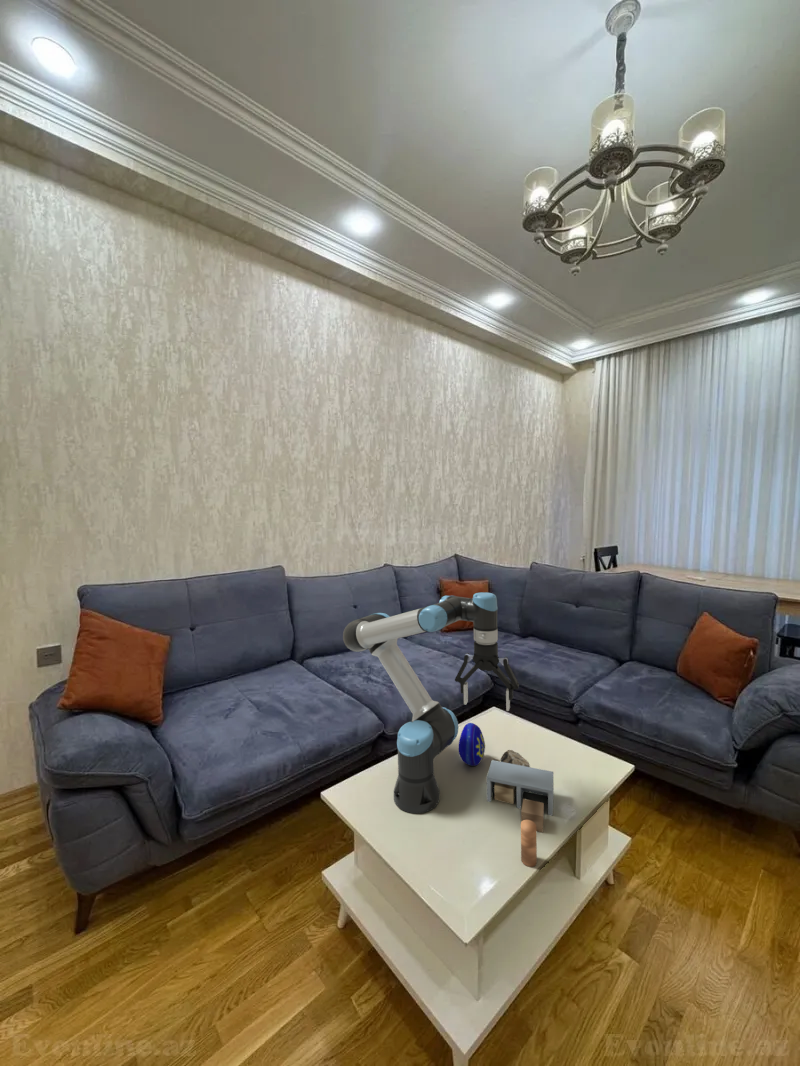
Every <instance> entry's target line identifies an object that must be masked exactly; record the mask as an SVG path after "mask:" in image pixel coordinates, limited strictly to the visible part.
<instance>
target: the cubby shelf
mask: <svg viewBox="0 0 800 1066" xmlns="http://www.w3.org/2000/svg"><path fill="white" fill-rule="evenodd" d="M495 782H498V783H502V784H507V785H512V786H516V808H517V809H520V810H522V804H523V799H524V797H523V796H524V792H526V793H530V794H535V795H539V796H544V797H547V798H548V799H547V803H548V804H547V807H548V808H547V811H548V812H547V815H548V816H551V817H552V816H553V812H554V794H555V793H554V792H555V791H554V785H555V784H554V771H551V770H546V769H542V768H535V767H531V766H530V767H526V766H521V765H515V764H510V763H505V762H501V760H500V761H498V760H493V759H492V760H491V762H490V766H489V768H488V771H487V773H486V802H490V803H491V802H492V798H493V794H494V785H495Z"/></svg>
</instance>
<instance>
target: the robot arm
mask: <svg viewBox="0 0 800 1066" xmlns="http://www.w3.org/2000/svg"><path fill="white" fill-rule="evenodd" d="M498 610H499V608H498V599H497V596H496V594H494V593H491V592H486V591H485V592H484V591H483V592H481V591H480V592H476V593H474V594H473V596H472V598H471V597H464V596H456V595H444V596H441V598H440V599H439V602H437V603H434V604H431V605H427V606H423V607H421V608H417V609H414V610H409V611H406V612H403V613H399V614H396V615H391V616H390V615H389V614H387V613H385V612H384V613H383V612H376V613H372V614H369V615H367V616H364V617H360V618H359V619H354V620H352V621H351V622H349V623H347V625H346V626H345V628H344V629H343V632H342V640H343V643H344V645H345V647H346V648H347V649H349V650H350V651H352V652H357V653H359V652H364V651H369V652H370V654H371V656H373V657H377V658H378V660H379V662H380V663H381V665H382V666H383V668H384V670H385V671H386V673H387V675H388V676H389V678H390V679H391V681H392V682H393V684H394V686H395V687H396V690H397V691H398V693H399V695H400V696H401V698H402V699H403V700H404V702H405V704H406V705H407V707H408V709H409V711H410V712H411V713H412V718H411V721H407V722H406V723H404V724H402V726H401V727H400V728H399V730H398V732H397V739H396V747H397V748H396V749H397V771H398V772H397V774H398V775H397V778H396V781H395V785H394V789H393V801H394V802H393V803H394V804H395V805H396V806H397V808H399V809H400V810H402V811H404V812H407V813H409V814H410V813H411V814H424V813H427V812H430V811H431V810H433V809H435V808H436V807H437V806H438V805H439V802H440V797H441V796H440V794H441V793H440V787H439V785H438V783H437V779H436V777H435V771H434V769H435V768H434V760H435V759H436V757H438V756H439V755H440V754H441V753H442V752H443V751H444V750H445V749H446V748H448V746H450V745H451V744H452V743H453V742H454V740H455V739H456V738H457V737H458V734H459V721H458V718H457V716H456V714H455V713H454V712H453V711H452V710H450V709H448V708H447V707H443V706H442V705H441V704H440V702H439V701H436V700H433V699H432V697H431V696H430V694H429V692H428V690H427V689H426V688H425V686H424V685H423V684H422V681H421V679H419V677H418V675H417V673H416V672H415V671H414V669H413V667H412V666H411V665H410V663H409V661H408V660H407V658H406V656H405V655H404V653H403V652H402V650H401V649H400V647H399V646H398V639H401V638H406V637H410V636H413V635H414V636H415V635H417V634H422V633H426V632H429V633H433V632H437V631H440V630H442V629H443V628H445V627H447V626H449V625H452V624H454V623H456V622H459V621H465V622H472V624H473V641H474V642H473V655H472V654H470V653H468V652H467V653H465V654H464V657H463V662H462V664H461V666H460V668H459V670H458V672H457V674H456V676H455V678H454V681H455V683H459V684H460V693H461V694H463V705H466V706H467V703H468V701H469V690H468V689H469V688H468V687H469V683H468V680H469V679H470V678H471V676H472V675H473V674H474V673H475V672H476V671H478V669H479V670H480V671H487V672H491V671H493V673H494V674H495V675H496V676H497V677H498V678H499V680H500V681H501V682H502V683H503V684H504V686H505V687H506V690H505V702H506V703H505V706H506V707H505V708H506V709H505V710H506V712H509V711H510V708H511V701H512V700H513V699H514V690H518V689H519V688H520V687H519V686H520V683H519V681H518V679H517V678H516V675H515V673H514V672H513V670H512V668H511V665H510V664H509V663H510V662H509V658H508V657H507V656H505V657H499V651H498V650H499V649H498V648H499V647H498V644H499V643H498V640H499V639H498V638H499V637H498V636H499V635H498ZM471 660H472V661H473V663H474V665H473V666H472V668H470V669H469V670H468V672H467V673H465V675H464V676H463V677H462V675H463V672H464V671H465V669H466V668H467V665H468V663H469V662H471ZM499 663H500V664H501V665H502V666H503V668H504V670H505V672H506V674H507V676H508V677H507V676H506V674H505V673H504V672H503V671H502V669H501V667H500V666H499V665H498V664H499Z"/></svg>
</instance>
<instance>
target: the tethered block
mask: <svg viewBox="0 0 800 1066" xmlns="http://www.w3.org/2000/svg"><path fill="white" fill-rule="evenodd" d="M544 804H545V803H544V802H542V801H541V802H540V801H537V800H531V799H526V798H522V804H521V809H520V810H521V811H520V814H521V815H520V817H521V819H520V861H521V863H522V865H524V866H525V867H529V868H533V867H536V866H537V862H538V857H537V855H538V852H537V851H538V849H537V848H538V847H537V837H538V836H537V833H542V834H543V833H544V820H545V805H544Z"/></svg>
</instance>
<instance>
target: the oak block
mask: <svg viewBox="0 0 800 1066" xmlns="http://www.w3.org/2000/svg"><path fill="white" fill-rule="evenodd" d="M493 793H494V801H499V802H503V803H508V804H512V805H514V803H515V799H516V797H517V790H516V786H512V785H507V784H502V783H498V782H495V785H494V791H493Z"/></svg>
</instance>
